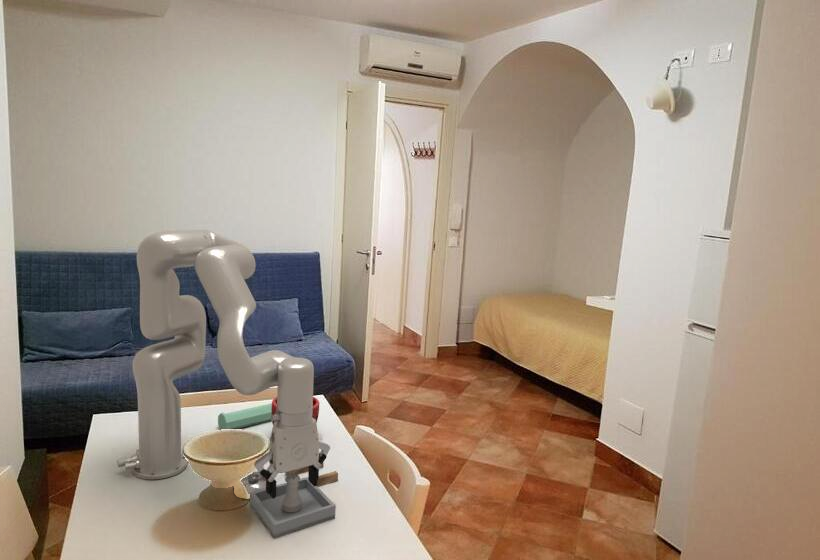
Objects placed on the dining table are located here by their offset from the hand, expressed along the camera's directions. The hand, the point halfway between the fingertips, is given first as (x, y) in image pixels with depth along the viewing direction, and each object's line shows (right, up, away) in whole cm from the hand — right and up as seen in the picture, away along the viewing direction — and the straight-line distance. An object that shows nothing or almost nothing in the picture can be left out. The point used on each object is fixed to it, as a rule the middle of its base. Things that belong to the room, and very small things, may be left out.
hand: (292, 489), depth 121 cm
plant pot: (-7, 0, +35) cm, 36 cm away
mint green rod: (-19, +3, +46) cm, 50 cm away
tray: (0, -5, +1) cm, 5 cm away
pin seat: (+1, -3, +15) cm, 16 cm away
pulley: (-11, -3, +9) cm, 15 cm away
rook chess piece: (0, -5, +1) cm, 5 cm away
